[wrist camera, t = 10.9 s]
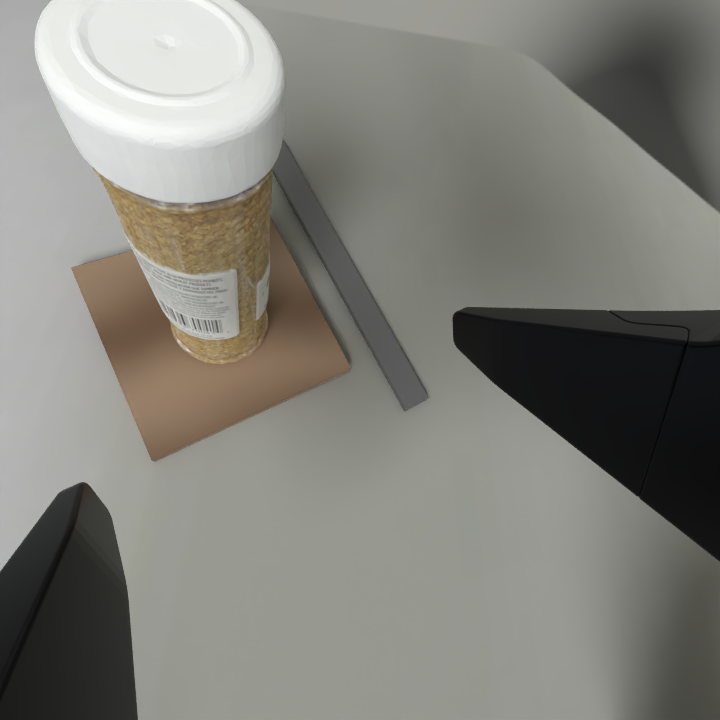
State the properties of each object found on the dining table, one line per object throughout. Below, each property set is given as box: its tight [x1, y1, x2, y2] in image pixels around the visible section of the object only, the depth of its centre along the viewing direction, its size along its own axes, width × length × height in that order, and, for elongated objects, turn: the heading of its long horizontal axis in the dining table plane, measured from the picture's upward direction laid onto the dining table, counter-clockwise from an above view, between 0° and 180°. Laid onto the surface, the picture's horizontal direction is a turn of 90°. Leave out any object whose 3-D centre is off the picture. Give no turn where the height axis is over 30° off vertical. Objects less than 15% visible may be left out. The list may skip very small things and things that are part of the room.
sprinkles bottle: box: [34, 0, 285, 364], centre depth 14 cm, size 5×5×14 cm
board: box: [71, 217, 351, 461], centre depth 20 cm, size 10×10×1 cm
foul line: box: [273, 140, 429, 411], centre depth 23 cm, size 18×2×1 cm, turn 29°
